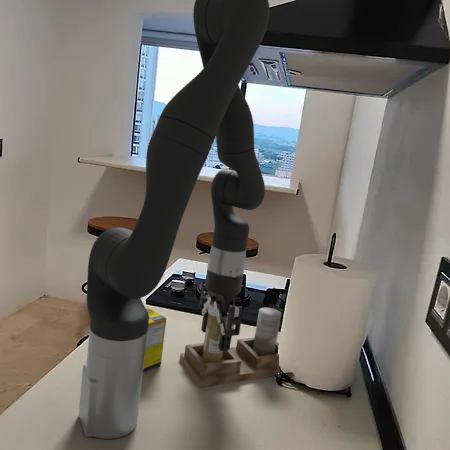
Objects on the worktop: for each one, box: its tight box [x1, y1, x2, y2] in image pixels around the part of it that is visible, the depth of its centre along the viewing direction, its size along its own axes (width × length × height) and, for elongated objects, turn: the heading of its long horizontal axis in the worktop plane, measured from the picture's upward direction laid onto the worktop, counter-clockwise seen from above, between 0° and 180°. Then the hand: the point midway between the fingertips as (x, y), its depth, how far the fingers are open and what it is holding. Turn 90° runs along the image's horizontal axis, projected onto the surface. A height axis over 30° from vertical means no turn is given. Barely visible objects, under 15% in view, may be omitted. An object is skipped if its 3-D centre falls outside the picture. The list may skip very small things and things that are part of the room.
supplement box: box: [143, 308, 167, 373], centre depth 97 cm, size 6×6×11 cm
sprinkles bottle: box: [202, 303, 228, 363], centre depth 98 cm, size 5×5×13 cm
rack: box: [179, 307, 282, 388], centre depth 101 cm, size 23×11×12 cm, turn 118°
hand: (214, 340), depth 98 cm, fingers open, 8 cm apart
